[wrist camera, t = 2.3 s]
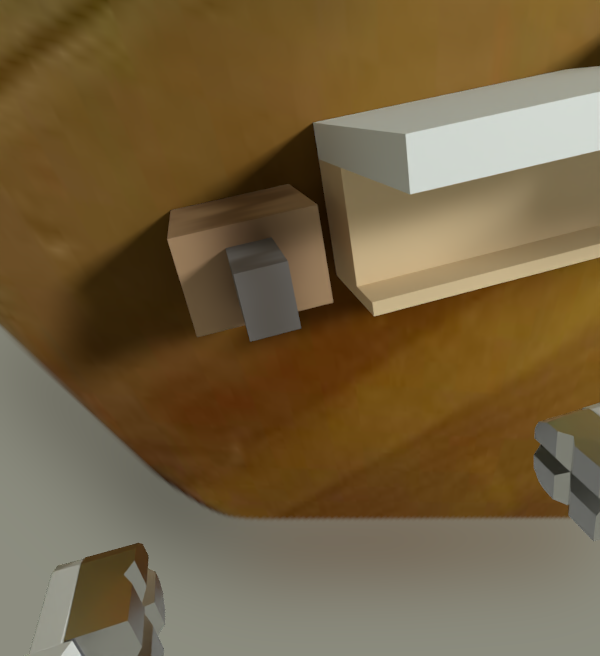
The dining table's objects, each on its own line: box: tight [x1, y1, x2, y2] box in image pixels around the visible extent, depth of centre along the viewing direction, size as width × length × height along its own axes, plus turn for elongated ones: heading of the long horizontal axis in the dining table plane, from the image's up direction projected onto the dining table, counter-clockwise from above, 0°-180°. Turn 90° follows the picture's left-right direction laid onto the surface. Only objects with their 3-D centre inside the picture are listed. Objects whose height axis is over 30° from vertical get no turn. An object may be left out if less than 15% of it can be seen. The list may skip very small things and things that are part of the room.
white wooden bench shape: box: [313, 66, 600, 316], centre depth 25 cm, size 16×9×13 cm, turn 101°
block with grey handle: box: [167, 184, 333, 342], centre depth 25 cm, size 7×5×11 cm
